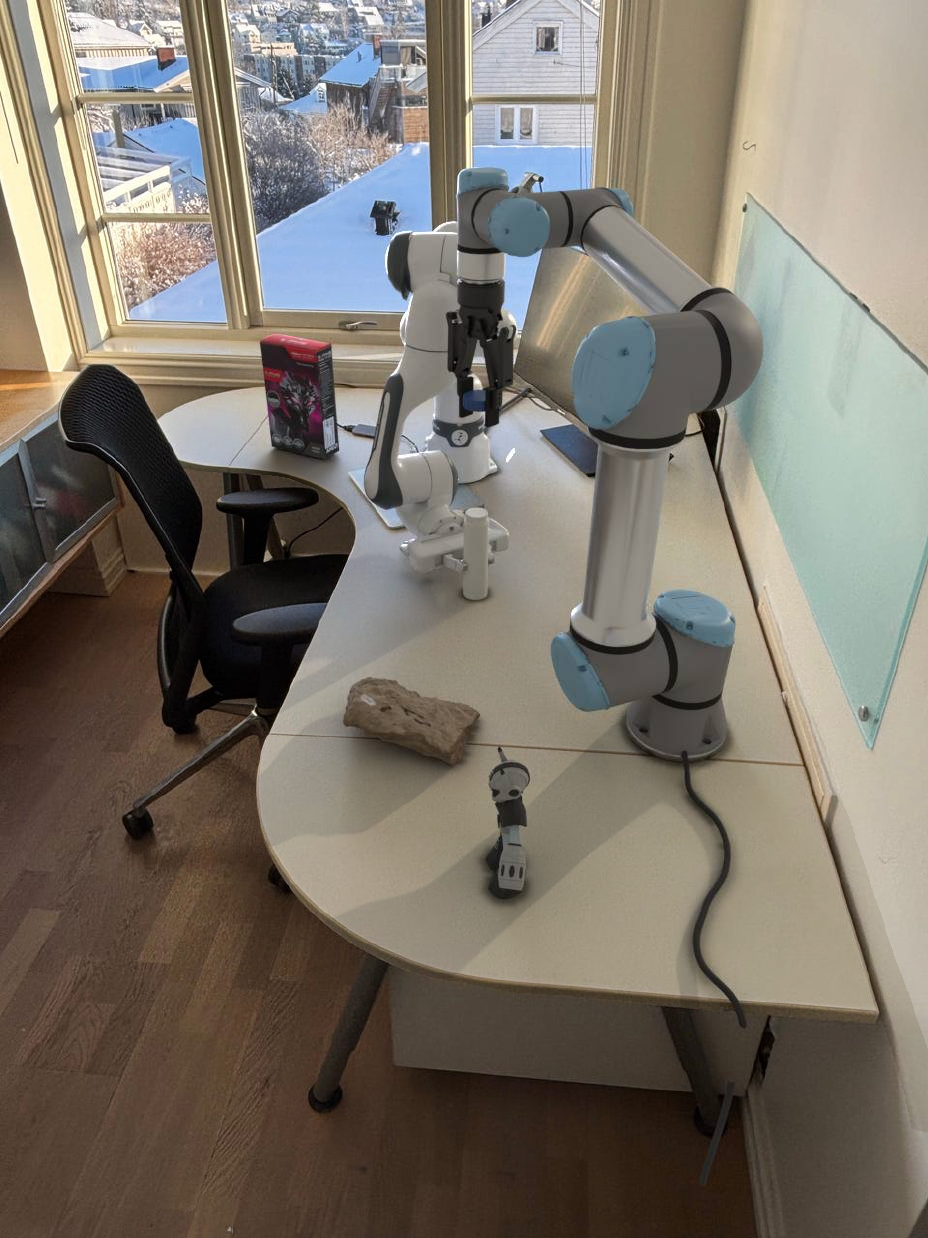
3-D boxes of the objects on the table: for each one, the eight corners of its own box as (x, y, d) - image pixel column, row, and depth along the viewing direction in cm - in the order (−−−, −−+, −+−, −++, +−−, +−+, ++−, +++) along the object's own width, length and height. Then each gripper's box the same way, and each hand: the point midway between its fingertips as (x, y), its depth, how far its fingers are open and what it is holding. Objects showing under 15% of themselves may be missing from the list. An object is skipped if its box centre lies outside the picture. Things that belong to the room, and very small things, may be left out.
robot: (531, 936, 111) (540, 818, 100) (491, 937, 111) (496, 820, 100) (516, 817, 127) (522, 704, 116) (481, 818, 127) (484, 705, 116)
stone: (316, 734, 137) (323, 699, 134) (354, 694, 150) (361, 661, 148) (449, 783, 133) (458, 749, 131) (475, 737, 146) (484, 705, 144)
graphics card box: (269, 447, 232) (256, 339, 216) (286, 438, 237) (274, 331, 221) (325, 461, 225) (316, 350, 210) (341, 451, 230) (333, 342, 215)
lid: (491, 413, 152) (491, 402, 151) (458, 410, 153) (458, 399, 152) (499, 402, 156) (499, 391, 155) (467, 398, 158) (467, 388, 157)
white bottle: (461, 598, 174) (461, 516, 165) (465, 585, 178) (466, 505, 168) (485, 601, 174) (487, 519, 164) (489, 588, 177) (491, 507, 168)
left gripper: (395, 530, 175) (428, 563, 165) (488, 507, 184) (525, 537, 174) (396, 559, 179) (428, 593, 169) (487, 535, 187) (523, 566, 177)
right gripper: (541, 284, 140) (534, 429, 153) (456, 264, 151) (456, 400, 164) (508, 293, 136) (503, 441, 149) (422, 271, 146) (425, 411, 159)
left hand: (478, 564), depth 171 cm, fingers closed on white bottle, 4 cm apart
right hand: (478, 419), depth 156 cm, fingers closed on lid, 5 cm apart
